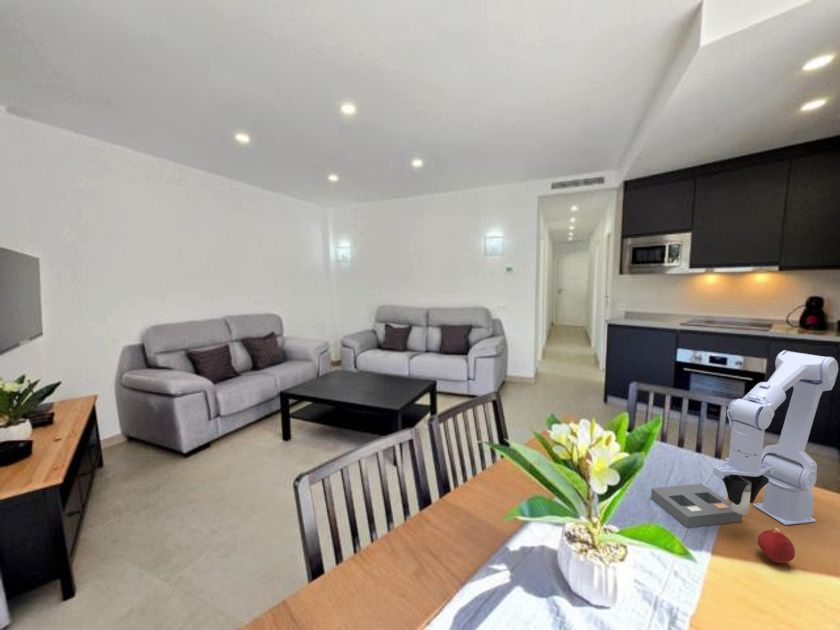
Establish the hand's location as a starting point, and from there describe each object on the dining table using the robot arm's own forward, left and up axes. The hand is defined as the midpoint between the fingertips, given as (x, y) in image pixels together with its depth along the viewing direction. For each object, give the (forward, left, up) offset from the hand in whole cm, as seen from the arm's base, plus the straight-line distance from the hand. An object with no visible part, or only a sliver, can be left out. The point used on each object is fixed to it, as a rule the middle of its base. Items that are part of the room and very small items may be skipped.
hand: (740, 501), depth 85 cm
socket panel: (+2, -10, -9) cm, 14 cm away
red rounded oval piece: (0, +8, -9) cm, 12 cm away
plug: (0, 0, -2) cm, 2 cm away
